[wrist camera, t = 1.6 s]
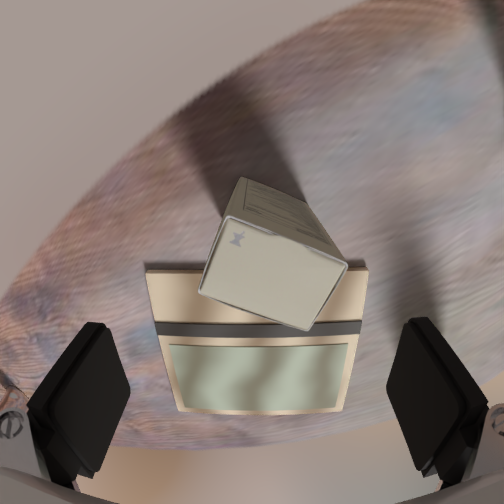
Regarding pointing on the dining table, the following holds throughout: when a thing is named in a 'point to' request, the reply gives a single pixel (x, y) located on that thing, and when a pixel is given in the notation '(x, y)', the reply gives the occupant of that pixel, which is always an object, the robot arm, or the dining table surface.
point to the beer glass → (14, 399)
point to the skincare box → (272, 258)
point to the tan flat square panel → (254, 350)
